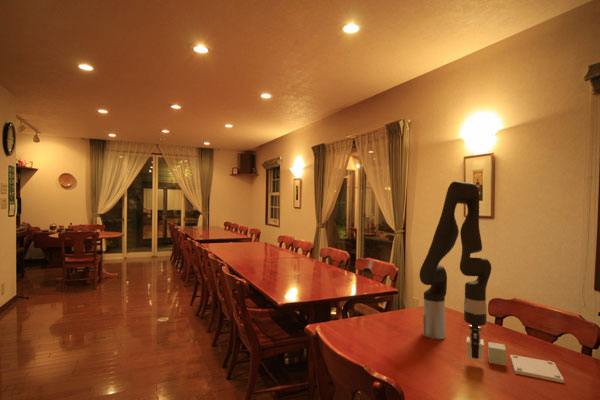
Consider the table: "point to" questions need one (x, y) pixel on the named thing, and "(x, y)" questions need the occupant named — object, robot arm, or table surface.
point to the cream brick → (481, 349)
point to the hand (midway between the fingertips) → (475, 354)
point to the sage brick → (497, 353)
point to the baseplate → (536, 368)
